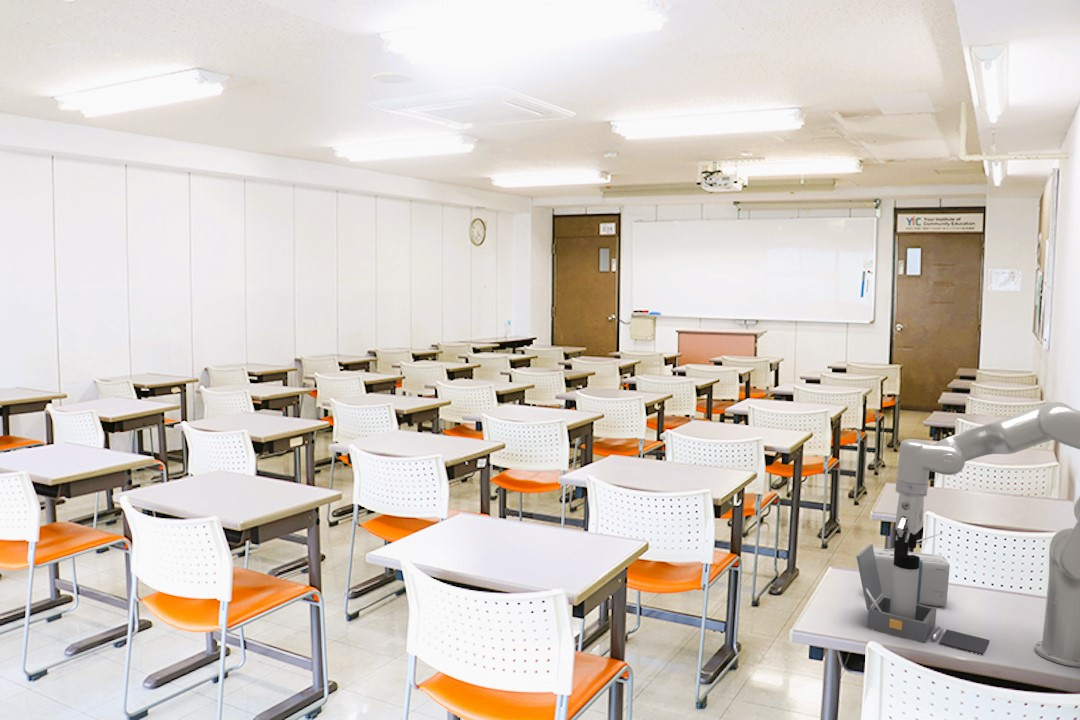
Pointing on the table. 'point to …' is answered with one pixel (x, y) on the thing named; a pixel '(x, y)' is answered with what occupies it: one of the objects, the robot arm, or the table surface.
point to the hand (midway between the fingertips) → (905, 551)
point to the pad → (964, 642)
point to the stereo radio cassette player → (929, 579)
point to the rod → (936, 633)
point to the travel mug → (904, 586)
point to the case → (881, 605)
